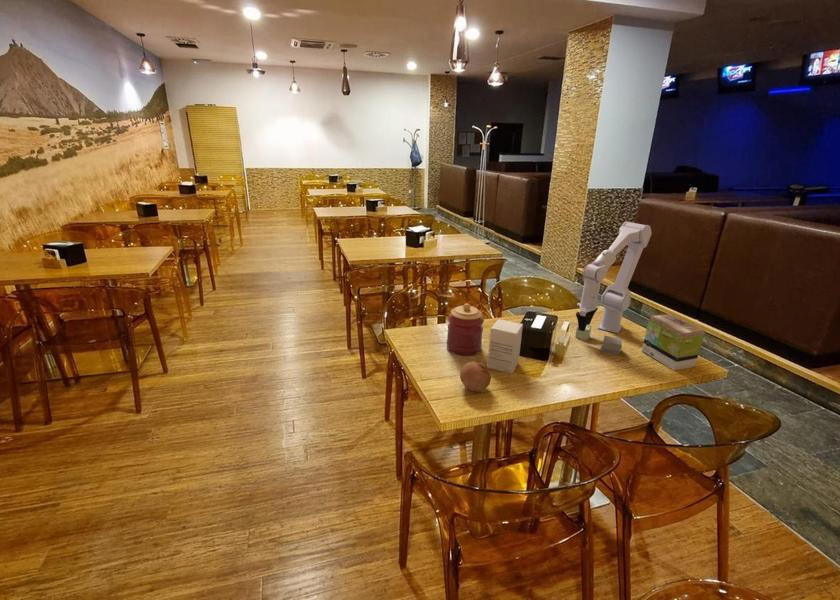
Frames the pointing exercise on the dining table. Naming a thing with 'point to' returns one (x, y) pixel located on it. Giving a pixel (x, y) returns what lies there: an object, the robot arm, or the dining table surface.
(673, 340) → the tea box
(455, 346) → the canister
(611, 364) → the dining table surface
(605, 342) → the slab top
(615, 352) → the slab bottom
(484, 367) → the onion
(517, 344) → the supplement box
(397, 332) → the dining table surface
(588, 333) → the sage block
